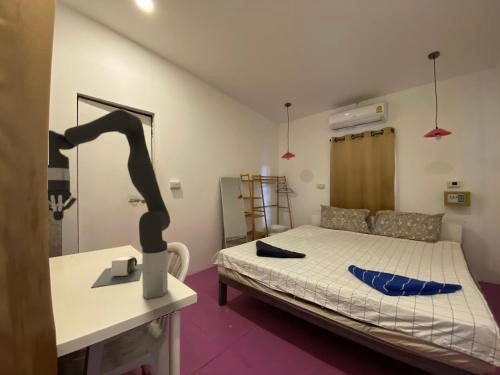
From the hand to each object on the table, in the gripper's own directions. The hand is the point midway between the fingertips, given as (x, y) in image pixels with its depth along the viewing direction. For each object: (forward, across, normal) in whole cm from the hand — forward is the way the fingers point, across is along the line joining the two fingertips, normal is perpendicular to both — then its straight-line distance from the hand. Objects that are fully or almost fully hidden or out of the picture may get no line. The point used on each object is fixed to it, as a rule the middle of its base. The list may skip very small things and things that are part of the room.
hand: (58, 220), depth 88 cm
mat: (+29, +22, +6) cm, 37 cm away
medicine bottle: (+24, +21, +1) cm, 32 cm away
